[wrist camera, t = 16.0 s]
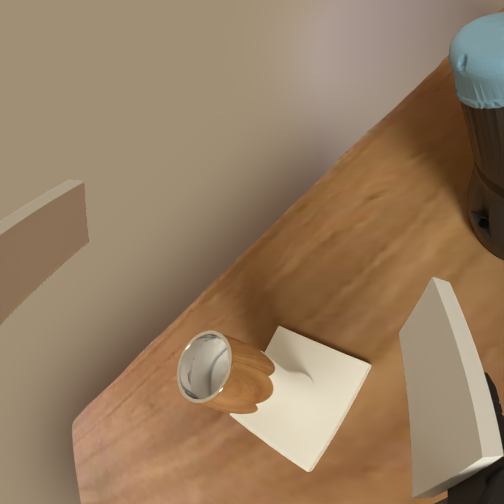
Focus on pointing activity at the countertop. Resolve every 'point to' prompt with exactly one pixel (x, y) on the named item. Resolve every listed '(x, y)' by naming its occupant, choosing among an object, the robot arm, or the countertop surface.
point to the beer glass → (240, 378)
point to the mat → (325, 401)
